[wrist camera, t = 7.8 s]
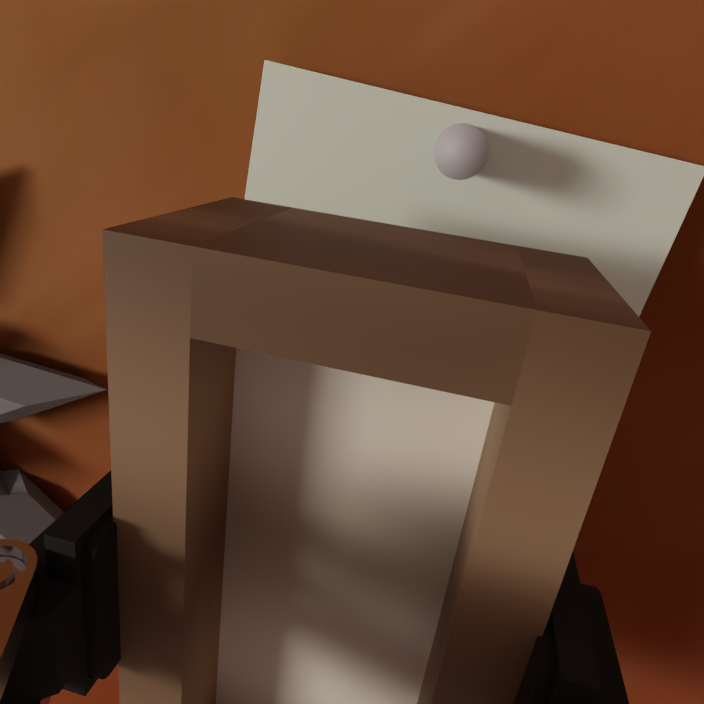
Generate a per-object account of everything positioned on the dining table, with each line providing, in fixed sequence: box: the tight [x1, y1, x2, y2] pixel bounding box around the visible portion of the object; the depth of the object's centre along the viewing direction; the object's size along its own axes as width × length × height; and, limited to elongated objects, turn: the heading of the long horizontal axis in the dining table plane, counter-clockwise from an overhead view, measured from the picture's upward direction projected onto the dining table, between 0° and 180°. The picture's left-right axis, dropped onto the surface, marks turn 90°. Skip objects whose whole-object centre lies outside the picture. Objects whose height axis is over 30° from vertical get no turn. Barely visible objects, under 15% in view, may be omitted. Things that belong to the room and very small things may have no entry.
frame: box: [102, 197, 651, 704], centre depth 11 cm, size 12×6×4 cm, turn 172°
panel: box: [245, 60, 704, 316], centre depth 15 cm, size 16×10×4 cm, turn 167°
